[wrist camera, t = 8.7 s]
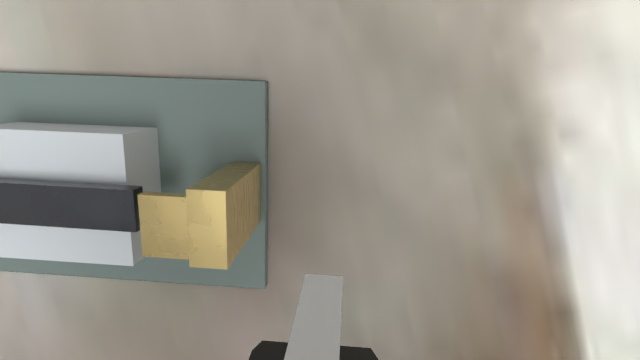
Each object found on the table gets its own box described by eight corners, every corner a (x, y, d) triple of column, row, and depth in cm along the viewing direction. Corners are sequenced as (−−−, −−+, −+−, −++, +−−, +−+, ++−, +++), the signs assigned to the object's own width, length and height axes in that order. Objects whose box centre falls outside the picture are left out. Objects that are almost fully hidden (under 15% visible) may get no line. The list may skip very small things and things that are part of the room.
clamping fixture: (-29, 263, 37) (-129, 308, 30) (-66, 70, 33) (-193, 64, 25) (267, 283, 35) (243, 338, 28) (267, 81, 31) (240, 78, 23)
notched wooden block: (198, 217, 33) (142, 264, 24) (196, 159, 32) (137, 186, 23) (260, 220, 33) (227, 269, 24) (260, 162, 32) (225, 191, 23)
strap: (-48, 214, 29) (-67, 220, 28) (-56, 173, 28) (-77, 177, 27) (146, 227, 28) (135, 234, 26) (143, 184, 27) (131, 189, 26)
